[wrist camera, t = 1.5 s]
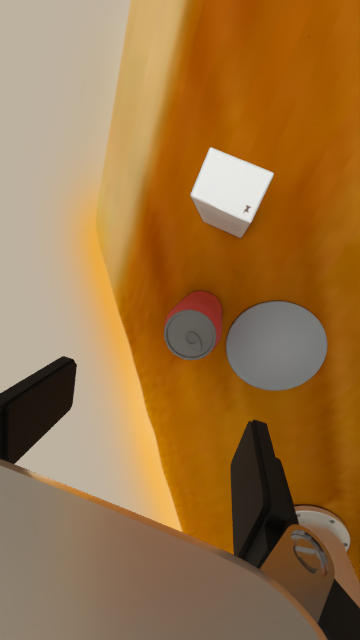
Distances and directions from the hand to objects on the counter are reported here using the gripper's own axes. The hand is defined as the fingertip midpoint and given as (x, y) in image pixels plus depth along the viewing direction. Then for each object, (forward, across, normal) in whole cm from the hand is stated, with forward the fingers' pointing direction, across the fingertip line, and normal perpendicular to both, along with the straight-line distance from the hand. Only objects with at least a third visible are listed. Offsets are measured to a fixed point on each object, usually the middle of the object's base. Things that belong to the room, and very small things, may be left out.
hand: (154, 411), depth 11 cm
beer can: (+24, 0, 0) cm, 24 cm away
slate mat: (+24, -12, +2) cm, 27 cm away
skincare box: (+24, 0, -14) cm, 28 cm away
